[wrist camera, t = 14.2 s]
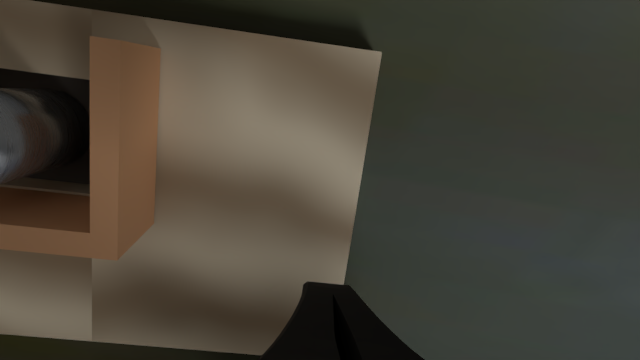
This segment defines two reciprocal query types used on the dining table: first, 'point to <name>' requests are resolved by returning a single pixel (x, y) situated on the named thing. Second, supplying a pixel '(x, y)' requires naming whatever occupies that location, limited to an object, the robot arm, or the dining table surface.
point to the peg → (40, 131)
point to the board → (198, 182)
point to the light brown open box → (100, 166)
